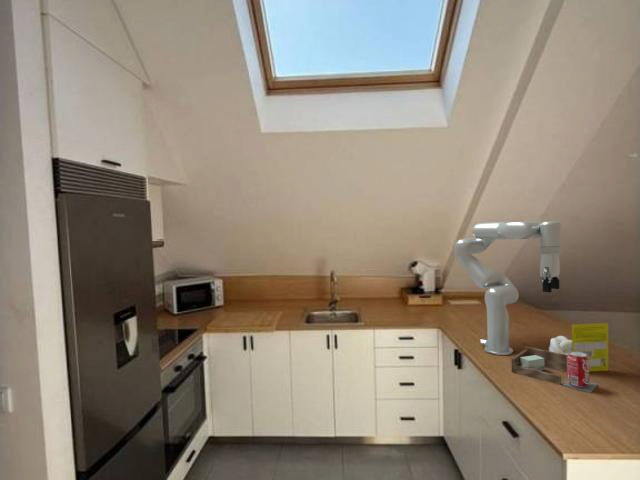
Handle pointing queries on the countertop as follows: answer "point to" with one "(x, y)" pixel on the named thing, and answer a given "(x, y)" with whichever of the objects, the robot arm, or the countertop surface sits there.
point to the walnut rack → (550, 361)
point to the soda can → (578, 369)
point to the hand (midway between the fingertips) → (551, 290)
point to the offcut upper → (532, 361)
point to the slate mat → (587, 388)
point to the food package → (592, 344)
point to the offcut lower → (535, 368)
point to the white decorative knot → (560, 345)
